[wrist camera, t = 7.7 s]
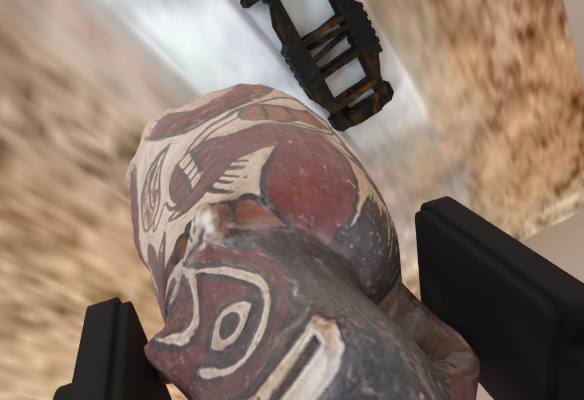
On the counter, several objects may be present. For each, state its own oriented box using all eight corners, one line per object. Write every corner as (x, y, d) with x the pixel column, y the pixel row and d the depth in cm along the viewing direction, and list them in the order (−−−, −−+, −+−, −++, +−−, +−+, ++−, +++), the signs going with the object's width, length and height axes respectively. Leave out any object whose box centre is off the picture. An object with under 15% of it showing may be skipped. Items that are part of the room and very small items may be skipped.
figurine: (175, 42, 14) (306, 192, 3) (367, 129, 17) (767, 357, 6) (97, 249, 15) (13, 795, 5) (284, 295, 18) (483, 696, 8)
